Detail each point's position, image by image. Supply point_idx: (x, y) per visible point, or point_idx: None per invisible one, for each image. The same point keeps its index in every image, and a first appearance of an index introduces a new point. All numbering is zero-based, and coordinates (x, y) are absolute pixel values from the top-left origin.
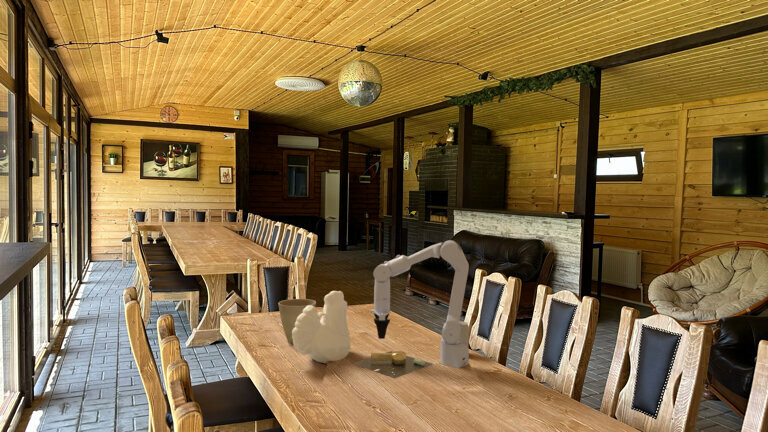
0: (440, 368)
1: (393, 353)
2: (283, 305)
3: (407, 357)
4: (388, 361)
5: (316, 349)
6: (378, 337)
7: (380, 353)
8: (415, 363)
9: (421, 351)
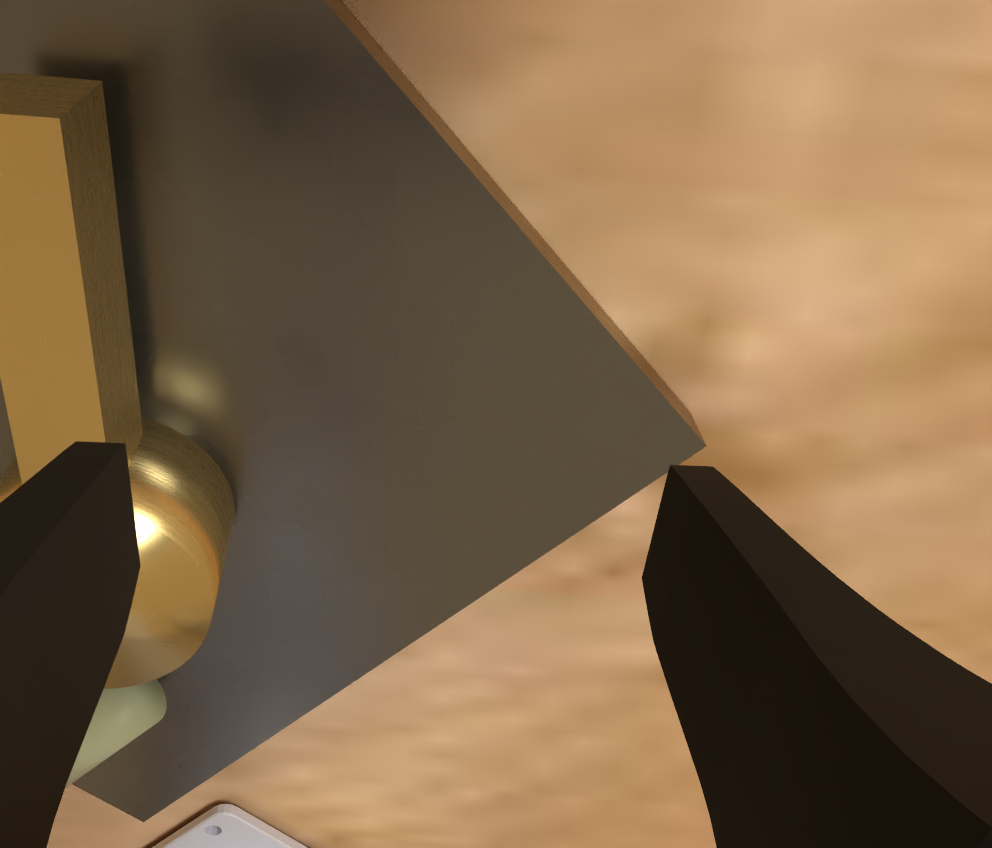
0: (162, 828)
1: None
2: None
3: (383, 616)
4: (181, 372)
5: None
6: (61, 453)
7: (57, 313)
8: None
9: None
